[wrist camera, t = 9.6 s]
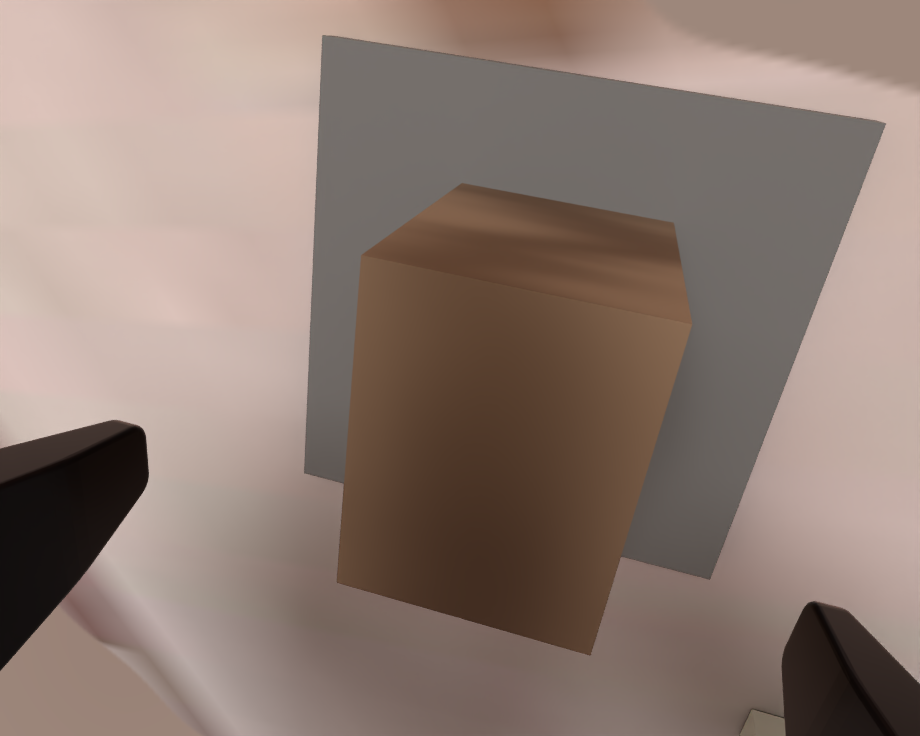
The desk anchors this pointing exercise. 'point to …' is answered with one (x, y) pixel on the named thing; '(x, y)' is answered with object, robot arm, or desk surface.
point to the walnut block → (508, 407)
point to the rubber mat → (609, 188)
